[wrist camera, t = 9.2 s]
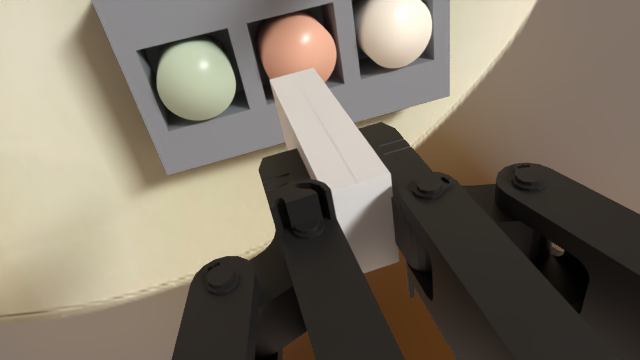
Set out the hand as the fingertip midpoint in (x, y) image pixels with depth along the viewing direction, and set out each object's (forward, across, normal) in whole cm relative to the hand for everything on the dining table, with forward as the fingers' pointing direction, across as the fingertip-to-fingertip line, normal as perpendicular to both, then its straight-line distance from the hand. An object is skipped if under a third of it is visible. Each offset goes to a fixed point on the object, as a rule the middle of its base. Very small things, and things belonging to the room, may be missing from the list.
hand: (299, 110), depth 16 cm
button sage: (+26, -5, -7) cm, 27 cm away
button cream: (+26, +12, -7) cm, 30 cm away
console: (+27, +4, -7) cm, 29 cm away
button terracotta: (+26, +4, -7) cm, 27 cm away
